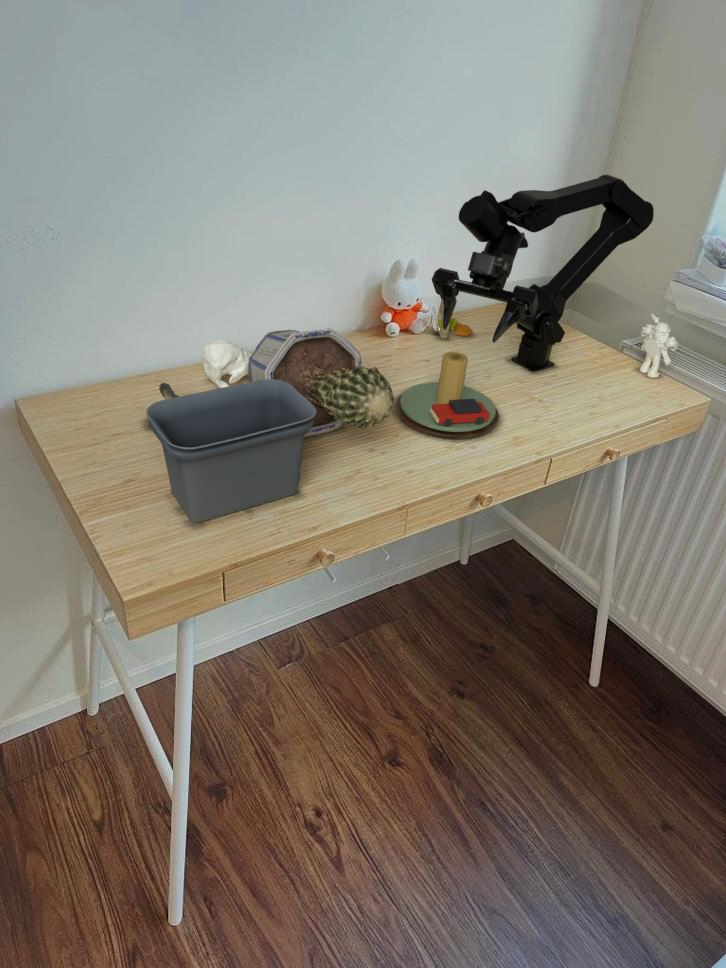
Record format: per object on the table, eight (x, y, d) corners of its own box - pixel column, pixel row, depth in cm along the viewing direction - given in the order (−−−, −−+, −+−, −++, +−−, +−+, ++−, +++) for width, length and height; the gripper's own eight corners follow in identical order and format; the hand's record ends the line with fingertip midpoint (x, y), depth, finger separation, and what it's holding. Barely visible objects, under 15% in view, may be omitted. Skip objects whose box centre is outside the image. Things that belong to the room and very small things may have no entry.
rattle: (469, 346, 163) (477, 294, 156) (430, 340, 164) (437, 287, 157) (472, 333, 169) (481, 282, 162) (435, 327, 170) (442, 276, 163)
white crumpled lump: (198, 336, 135) (257, 330, 142) (196, 380, 140) (254, 372, 147) (214, 350, 131) (275, 343, 138) (212, 395, 136) (271, 386, 143)
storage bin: (181, 542, 103) (174, 451, 94) (142, 482, 113) (133, 396, 105) (320, 501, 113) (325, 416, 105) (273, 450, 123) (274, 369, 115)
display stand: (450, 380, 148) (450, 377, 148) (519, 423, 137) (520, 419, 136) (374, 403, 139) (375, 399, 138) (442, 450, 127) (443, 446, 127)
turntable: (388, 387, 142) (393, 337, 136) (474, 383, 146) (482, 334, 140) (417, 435, 128) (424, 382, 123) (510, 428, 133) (521, 377, 127)
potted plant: (226, 325, 126) (326, 354, 103) (318, 313, 136) (428, 337, 113) (235, 428, 133) (331, 476, 110) (322, 409, 142) (427, 450, 119)
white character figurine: (627, 364, 161) (643, 310, 154) (641, 362, 163) (658, 308, 156) (656, 384, 154) (674, 328, 148) (671, 381, 156) (690, 326, 149)
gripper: (442, 221, 133) (411, 301, 131) (547, 243, 127) (516, 328, 125) (451, 255, 144) (422, 330, 141) (549, 276, 138) (520, 355, 135)
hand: (468, 335), depth 136 cm, fingers open, 9 cm apart
